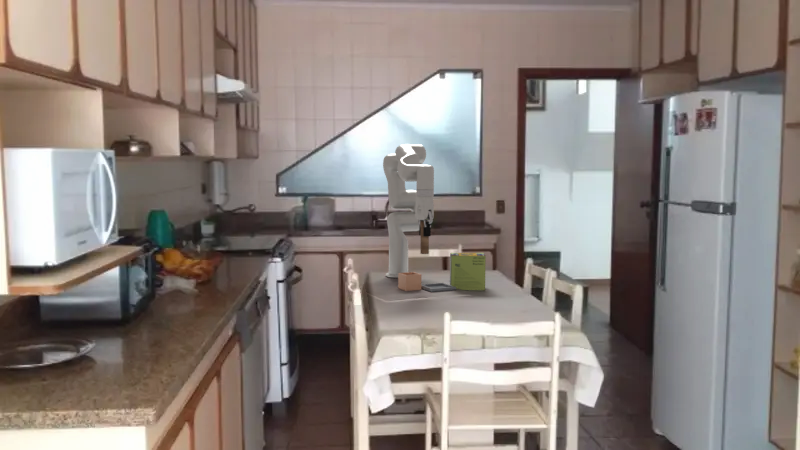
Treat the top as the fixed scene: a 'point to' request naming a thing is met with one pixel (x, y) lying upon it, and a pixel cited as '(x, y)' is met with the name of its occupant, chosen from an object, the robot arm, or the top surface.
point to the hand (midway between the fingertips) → (424, 235)
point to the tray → (437, 287)
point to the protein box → (467, 271)
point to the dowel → (424, 241)
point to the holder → (409, 281)
